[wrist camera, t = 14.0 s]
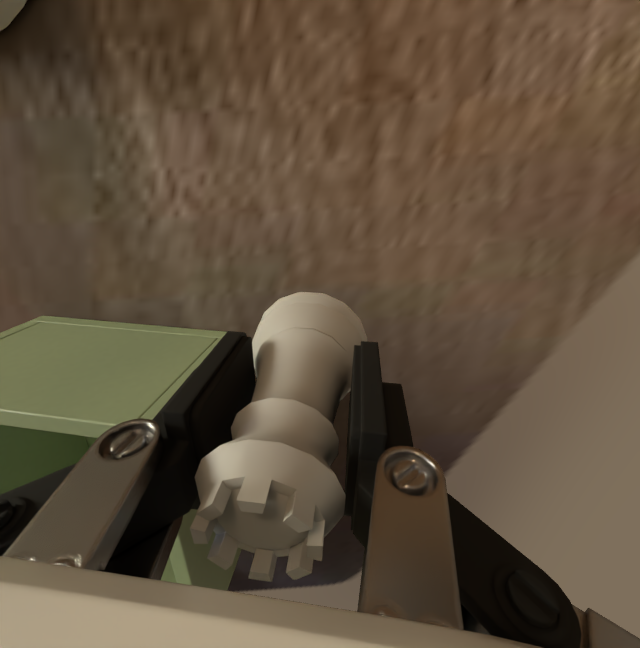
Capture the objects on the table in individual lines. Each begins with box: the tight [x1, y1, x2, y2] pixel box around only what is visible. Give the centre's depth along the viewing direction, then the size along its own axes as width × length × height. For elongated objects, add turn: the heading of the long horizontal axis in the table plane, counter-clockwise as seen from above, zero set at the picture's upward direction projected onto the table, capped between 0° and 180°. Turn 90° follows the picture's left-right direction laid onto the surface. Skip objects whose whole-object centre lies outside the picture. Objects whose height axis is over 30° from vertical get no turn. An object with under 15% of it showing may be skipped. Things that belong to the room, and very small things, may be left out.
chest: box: [0, 316, 242, 591], centre depth 18 cm, size 16×13×8 cm
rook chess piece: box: [190, 292, 367, 582], centre depth 9 cm, size 4×4×8 cm
